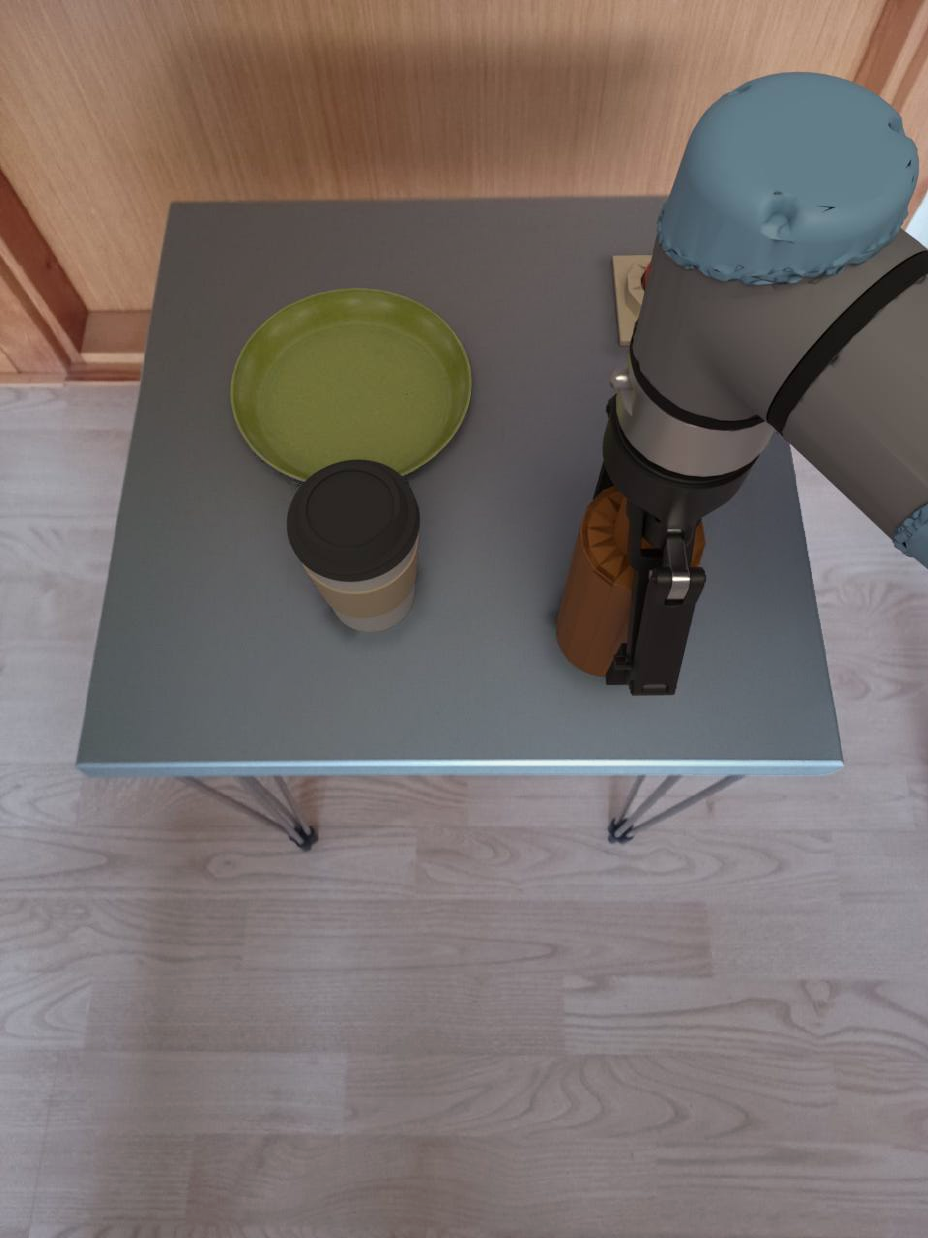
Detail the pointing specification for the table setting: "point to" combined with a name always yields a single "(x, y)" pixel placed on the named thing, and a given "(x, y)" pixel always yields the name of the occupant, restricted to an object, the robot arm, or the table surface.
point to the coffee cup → (358, 541)
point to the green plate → (350, 383)
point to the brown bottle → (602, 585)
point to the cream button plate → (628, 292)
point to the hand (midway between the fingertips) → (618, 587)
